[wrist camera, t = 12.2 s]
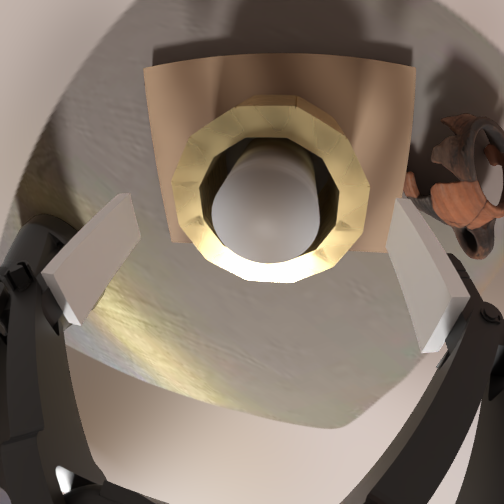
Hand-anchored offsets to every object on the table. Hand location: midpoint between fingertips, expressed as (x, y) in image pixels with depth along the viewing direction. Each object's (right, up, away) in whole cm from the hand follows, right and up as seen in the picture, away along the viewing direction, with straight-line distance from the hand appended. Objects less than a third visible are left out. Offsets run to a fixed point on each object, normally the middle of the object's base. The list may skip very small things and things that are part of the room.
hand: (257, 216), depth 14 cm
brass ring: (+1, +4, +6) cm, 7 cm away
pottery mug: (+17, +5, +7) cm, 19 cm away
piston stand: (+2, +6, +8) cm, 11 cm away
